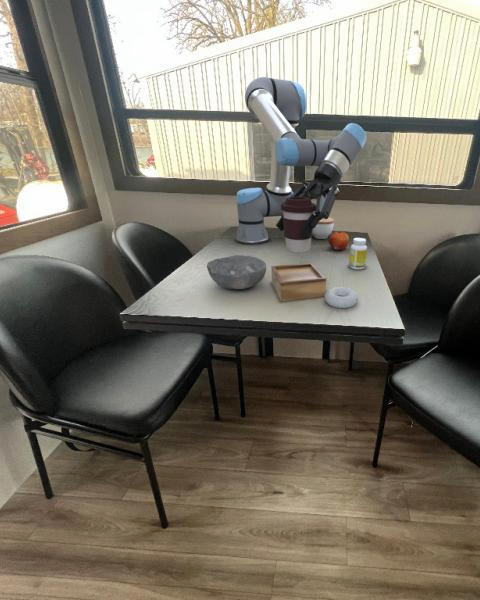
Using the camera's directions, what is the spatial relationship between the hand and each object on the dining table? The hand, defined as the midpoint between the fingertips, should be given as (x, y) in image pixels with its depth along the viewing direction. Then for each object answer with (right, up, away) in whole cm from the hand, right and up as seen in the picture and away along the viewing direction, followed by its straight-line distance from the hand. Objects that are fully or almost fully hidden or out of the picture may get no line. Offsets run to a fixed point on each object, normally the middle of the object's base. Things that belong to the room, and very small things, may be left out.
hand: (290, 231), depth 85 cm
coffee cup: (+2, -5, +5) cm, 7 cm away
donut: (+15, -20, +4) cm, 25 cm away
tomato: (+17, +4, +52) cm, 54 cm away
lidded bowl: (+9, +13, +69) cm, 71 cm away
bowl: (-18, -15, +11) cm, 26 cm away
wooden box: (+1, -16, +10) cm, 19 cm away
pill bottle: (+23, -7, +31) cm, 39 cm away
